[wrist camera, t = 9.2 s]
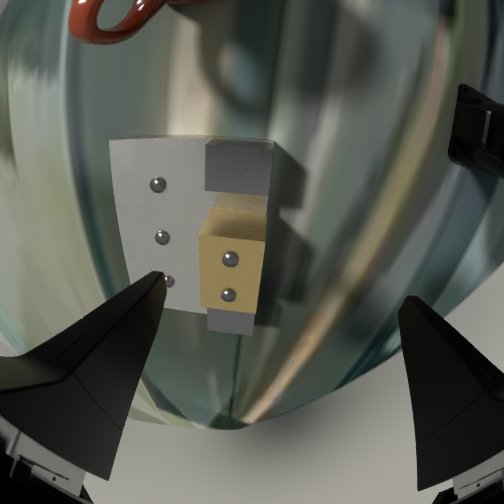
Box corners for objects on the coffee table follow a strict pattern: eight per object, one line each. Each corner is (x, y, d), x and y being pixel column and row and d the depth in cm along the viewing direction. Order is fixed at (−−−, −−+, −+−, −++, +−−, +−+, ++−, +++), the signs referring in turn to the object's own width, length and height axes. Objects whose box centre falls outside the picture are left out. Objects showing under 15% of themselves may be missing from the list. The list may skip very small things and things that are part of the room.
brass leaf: (267, 213, 19) (265, 243, 16) (258, 278, 23) (255, 315, 19) (211, 207, 20) (197, 236, 16) (211, 273, 23) (200, 308, 19)
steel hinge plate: (273, 140, 18) (273, 149, 15) (254, 310, 26) (252, 335, 24) (117, 137, 18) (94, 146, 15) (139, 294, 27) (128, 316, 24)
